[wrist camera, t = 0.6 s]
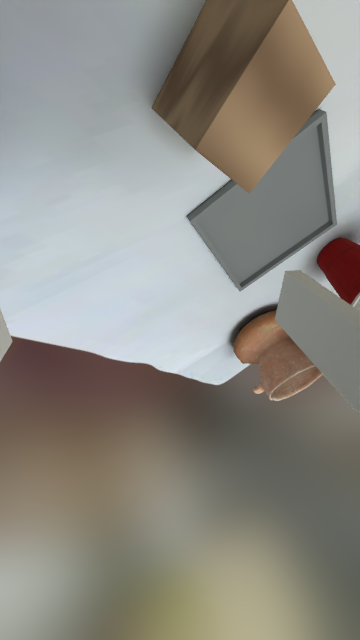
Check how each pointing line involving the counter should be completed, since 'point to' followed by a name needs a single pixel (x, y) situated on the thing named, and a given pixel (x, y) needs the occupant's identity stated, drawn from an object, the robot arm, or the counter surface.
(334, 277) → the plastic cup
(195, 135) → the walnut block
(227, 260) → the tray
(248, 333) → the ceramic jug
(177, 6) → the counter surface
